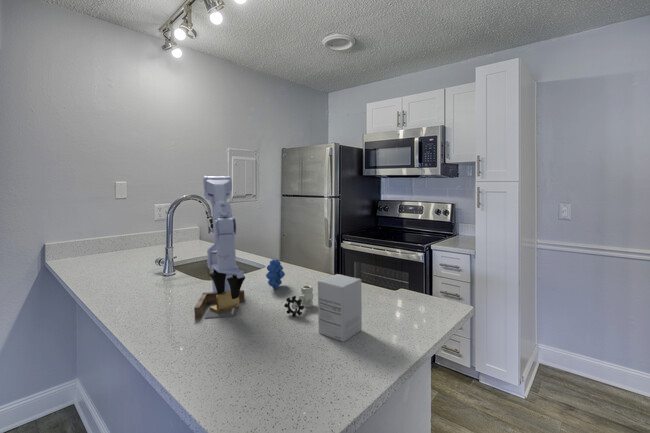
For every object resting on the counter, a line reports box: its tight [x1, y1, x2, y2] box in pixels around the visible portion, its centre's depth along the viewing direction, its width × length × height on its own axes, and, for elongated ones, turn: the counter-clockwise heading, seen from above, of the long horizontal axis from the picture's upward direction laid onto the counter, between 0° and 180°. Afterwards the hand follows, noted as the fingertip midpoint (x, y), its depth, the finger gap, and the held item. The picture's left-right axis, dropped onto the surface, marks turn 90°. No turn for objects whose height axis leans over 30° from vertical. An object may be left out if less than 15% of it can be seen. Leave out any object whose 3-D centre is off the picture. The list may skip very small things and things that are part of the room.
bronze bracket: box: [209, 290, 240, 313], centre depth 108 cm, size 8×5×6 cm, turn 142°
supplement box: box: [317, 273, 363, 343], centre depth 91 cm, size 9×9×15 cm
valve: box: [283, 284, 314, 318], centre depth 107 cm, size 7×7×12 cm
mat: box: [204, 303, 238, 320], centre depth 107 cm, size 11×9×1 cm
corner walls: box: [193, 289, 246, 320], centre depth 109 cm, size 14×14×4 cm
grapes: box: [265, 258, 286, 289], centre depth 128 cm, size 12×7×12 cm, turn 162°
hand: (228, 295), depth 107 cm, fingers open, 7 cm apart
